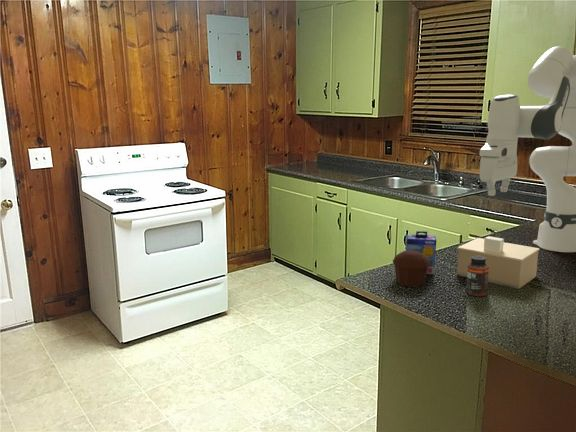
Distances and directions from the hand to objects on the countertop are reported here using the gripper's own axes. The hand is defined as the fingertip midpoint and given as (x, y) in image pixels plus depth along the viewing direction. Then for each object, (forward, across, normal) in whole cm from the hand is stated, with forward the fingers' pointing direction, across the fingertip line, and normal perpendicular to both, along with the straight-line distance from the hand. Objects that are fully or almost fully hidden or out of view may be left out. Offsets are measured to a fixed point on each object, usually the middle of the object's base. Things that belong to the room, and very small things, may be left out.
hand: (497, 193), depth 160 cm
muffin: (+28, +19, -18) cm, 39 cm away
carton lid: (+19, -4, 0) cm, 19 cm away
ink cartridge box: (+28, +8, -21) cm, 36 cm away
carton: (+28, -4, 0) cm, 28 cm away
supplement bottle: (+28, +15, +2) cm, 32 cm away
